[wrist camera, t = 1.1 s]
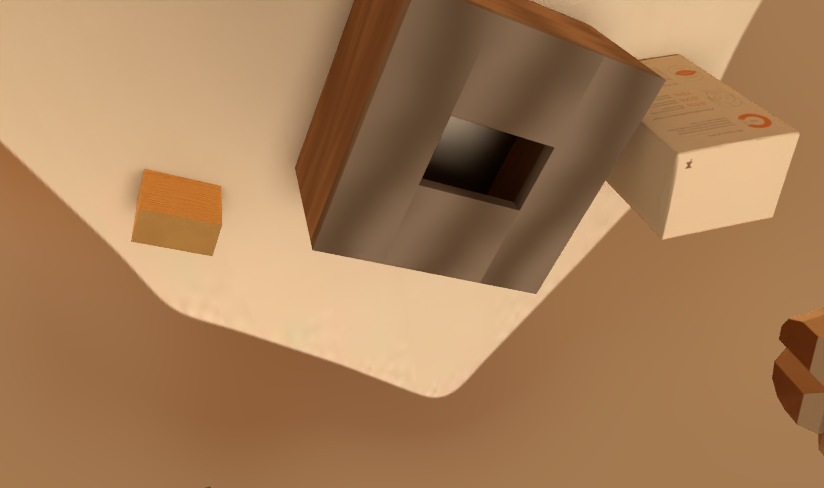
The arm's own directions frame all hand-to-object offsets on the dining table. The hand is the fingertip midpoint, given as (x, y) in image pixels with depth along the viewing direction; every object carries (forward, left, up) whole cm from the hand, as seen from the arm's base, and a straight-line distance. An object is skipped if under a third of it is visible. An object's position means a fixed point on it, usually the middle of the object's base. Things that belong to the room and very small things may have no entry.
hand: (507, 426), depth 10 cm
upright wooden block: (-1, -19, -37) cm, 42 cm away
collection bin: (+14, -7, -37) cm, 40 cm away
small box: (+28, -3, -37) cm, 47 cm away
